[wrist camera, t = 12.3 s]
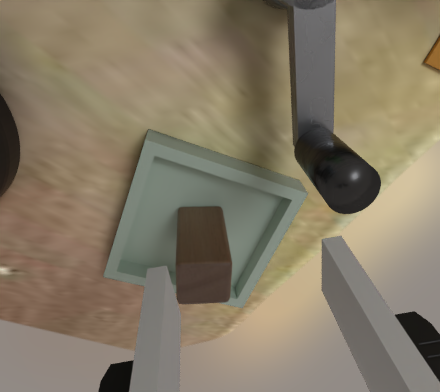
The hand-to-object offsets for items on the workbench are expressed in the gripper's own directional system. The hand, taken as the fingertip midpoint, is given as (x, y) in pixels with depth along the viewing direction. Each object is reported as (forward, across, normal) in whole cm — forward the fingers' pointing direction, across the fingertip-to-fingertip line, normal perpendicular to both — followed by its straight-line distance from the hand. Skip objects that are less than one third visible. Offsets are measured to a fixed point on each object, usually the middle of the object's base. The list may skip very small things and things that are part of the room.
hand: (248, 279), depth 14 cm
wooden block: (+16, -3, -8) cm, 18 cm away
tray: (+17, -3, -8) cm, 19 cm away
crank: (+13, +6, +6) cm, 15 cm away
